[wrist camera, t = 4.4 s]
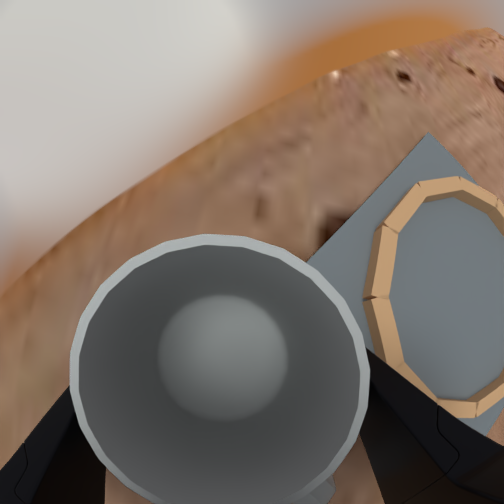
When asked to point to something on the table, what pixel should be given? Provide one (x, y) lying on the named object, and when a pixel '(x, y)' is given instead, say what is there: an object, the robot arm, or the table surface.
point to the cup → (220, 374)
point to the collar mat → (429, 281)
